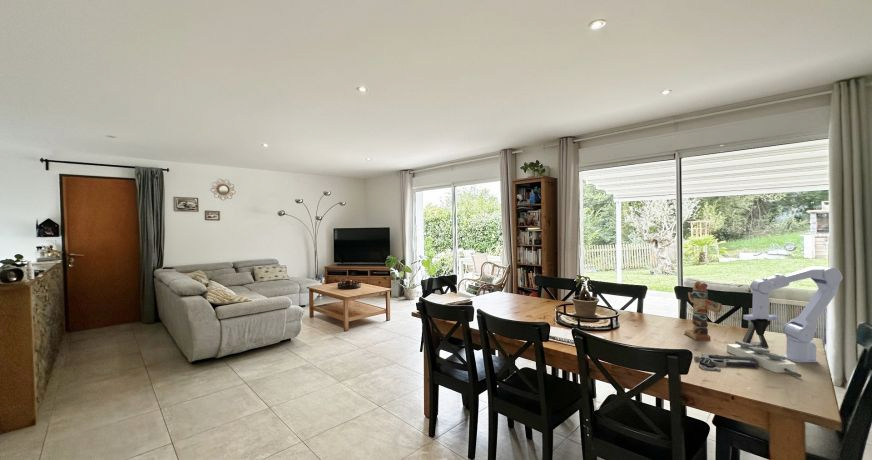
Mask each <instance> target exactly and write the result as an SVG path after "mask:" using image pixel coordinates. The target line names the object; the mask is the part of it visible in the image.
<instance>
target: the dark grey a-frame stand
mask: <svg viewBox="0 0 872 460" xmlns="http://www.w3.org/2000/svg"><path fill="white" fill-rule="evenodd" d="M749 323H750V324H749V327H748V328H747V331H746V332H745V334H744V337H743V339H742V342H745V343H749V344H751V345H754V346H755V347H761V348H769V344H768V342H767V340H766V337H765V336H764V335H765V334H764V335H763V336H759V335H757V336H758V339H759V342H758V341H752V340H753V339H752V338H753V337H754V334H755V333H756V330H755V327H754V325H753V323H752V322H751V320H749Z"/></svg>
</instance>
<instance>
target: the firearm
mask: <svg viewBox="0 0 872 460" xmlns="http://www.w3.org/2000/svg"><path fill="white" fill-rule="evenodd" d="M693 361H698V362H699V363H698V366H699V367H700V368H701V369H702V370H706V371H718V372H721V370H722V369H721V367H723V368H725V367H732V368H733V367H734V368H749V369H751V368H752V369H753V368H754V369H757V368H758V366H759V365H758V362H757V361H756V359H754V358H753V357H751V358H750V357H745V356H736V355H719V354H718V355H717V354H709V353H703V352H702V353H701V356H700V355H698V356H694V355H693Z"/></svg>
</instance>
